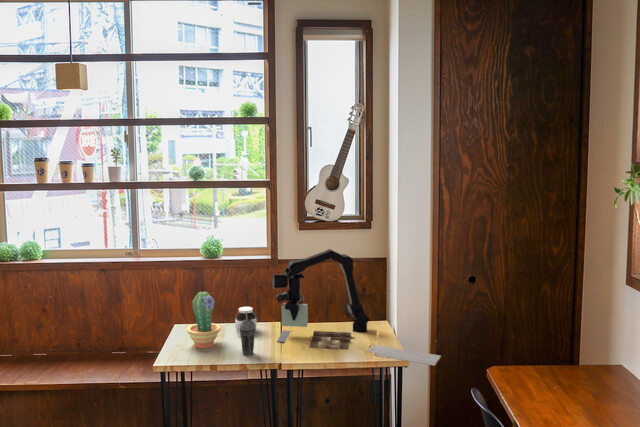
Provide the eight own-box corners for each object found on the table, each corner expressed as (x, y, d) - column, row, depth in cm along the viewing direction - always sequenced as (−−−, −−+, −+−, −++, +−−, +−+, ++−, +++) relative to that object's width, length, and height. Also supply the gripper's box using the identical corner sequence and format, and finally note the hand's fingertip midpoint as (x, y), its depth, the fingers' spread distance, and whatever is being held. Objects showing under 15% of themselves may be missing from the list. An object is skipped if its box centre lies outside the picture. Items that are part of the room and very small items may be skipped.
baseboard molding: (433, 368, 254) (440, 359, 265) (434, 361, 254) (441, 352, 264) (364, 356, 267) (374, 348, 278) (364, 350, 267) (374, 341, 277)
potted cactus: (187, 351, 270) (186, 297, 267) (186, 340, 285) (185, 288, 282) (222, 348, 274) (221, 295, 271) (219, 337, 289) (218, 286, 286)
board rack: (351, 338, 289) (351, 332, 289) (348, 351, 272) (348, 345, 271) (313, 336, 291) (313, 330, 291) (308, 349, 274) (308, 343, 273)
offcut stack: (340, 345, 277) (340, 337, 277) (339, 348, 273) (339, 340, 273) (318, 344, 279) (318, 336, 278) (317, 347, 275) (317, 339, 274)
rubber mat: (311, 332, 297) (311, 331, 297) (306, 343, 281) (306, 342, 281) (283, 331, 298) (283, 330, 298) (276, 342, 283) (276, 341, 283)
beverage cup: (258, 352, 270) (258, 308, 268) (251, 357, 263) (251, 313, 261) (244, 350, 273) (243, 307, 270) (236, 355, 266) (236, 311, 263)
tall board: (307, 324, 290) (307, 304, 289) (306, 326, 286) (306, 306, 285) (283, 323, 292) (282, 303, 290) (281, 325, 288) (281, 305, 286)
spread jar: (252, 327, 304) (251, 305, 303) (261, 334, 295) (261, 311, 293) (229, 331, 298) (229, 308, 297) (238, 338, 289) (238, 314, 287)
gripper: (281, 282, 297) (281, 312, 299) (273, 291, 278) (274, 324, 280) (303, 282, 295) (303, 313, 297) (297, 292, 277) (297, 325, 279)
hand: (294, 319), depth 288 cm, fingers closed on tall board, 4 cm apart
